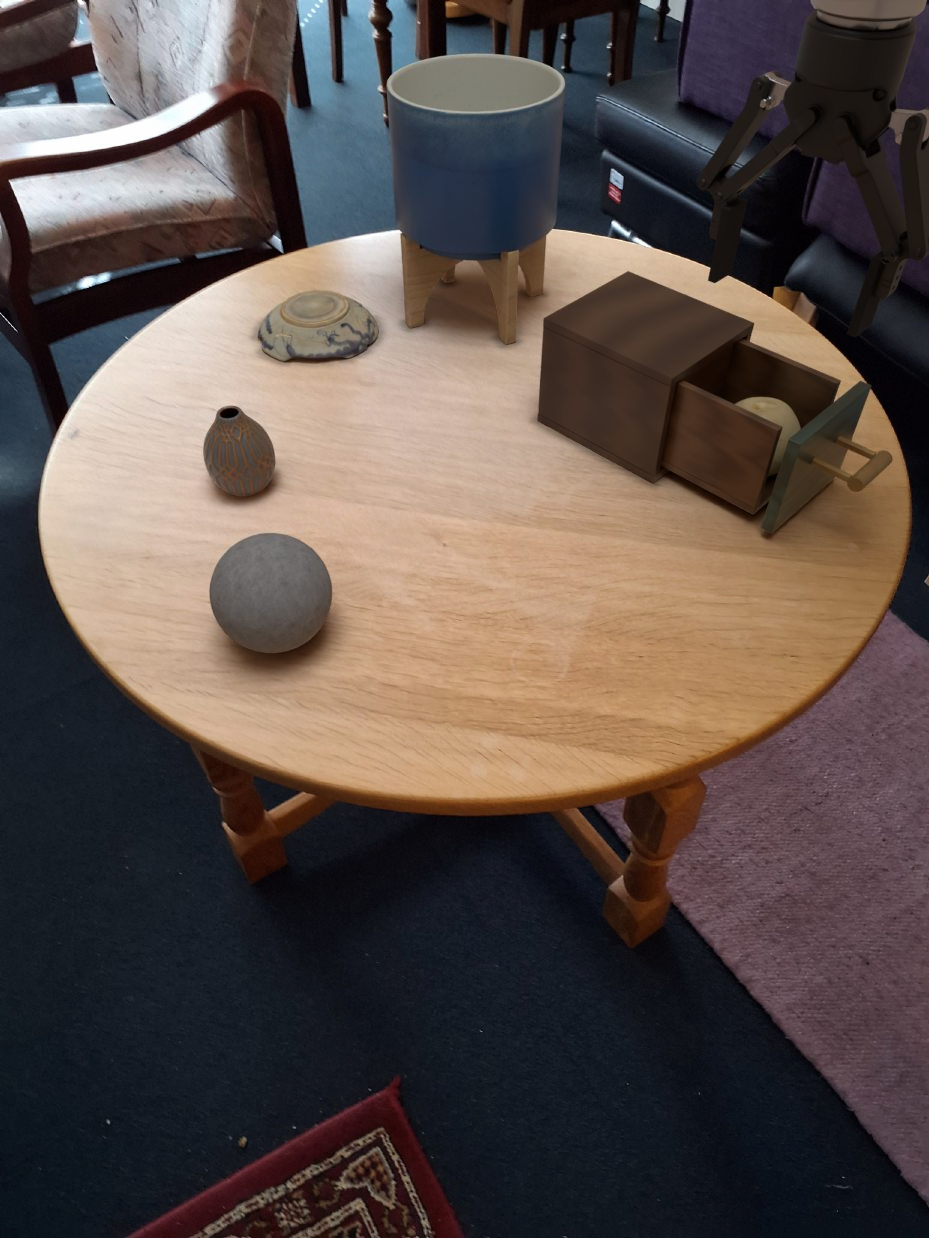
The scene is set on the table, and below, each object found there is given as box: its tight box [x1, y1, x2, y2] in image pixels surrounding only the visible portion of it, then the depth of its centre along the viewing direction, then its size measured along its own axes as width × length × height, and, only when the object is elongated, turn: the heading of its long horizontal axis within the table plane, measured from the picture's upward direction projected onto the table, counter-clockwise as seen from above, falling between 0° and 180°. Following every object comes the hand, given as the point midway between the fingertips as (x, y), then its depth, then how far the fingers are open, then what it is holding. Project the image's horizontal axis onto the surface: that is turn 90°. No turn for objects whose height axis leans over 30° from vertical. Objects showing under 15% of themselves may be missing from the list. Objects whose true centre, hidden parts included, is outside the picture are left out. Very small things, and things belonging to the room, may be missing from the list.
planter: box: [386, 53, 566, 345], centre depth 106 cm, size 19×19×26 cm
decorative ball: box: [208, 532, 333, 654], centre depth 74 cm, size 10×10×10 cm
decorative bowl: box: [257, 289, 379, 363], centre depth 111 cm, size 15×4×15 cm
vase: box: [202, 405, 276, 497], centre depth 89 cm, size 7×7×9 cm
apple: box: [735, 397, 801, 476], centre depth 88 cm, size 8×8×8 cm
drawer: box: [661, 338, 894, 534], centre depth 86 cm, size 20×13×10 cm, turn 45°
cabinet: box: [537, 270, 755, 484], centre depth 94 cm, size 16×14×12 cm
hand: (786, 302), depth 78 cm, fingers open, 13 cm apart
